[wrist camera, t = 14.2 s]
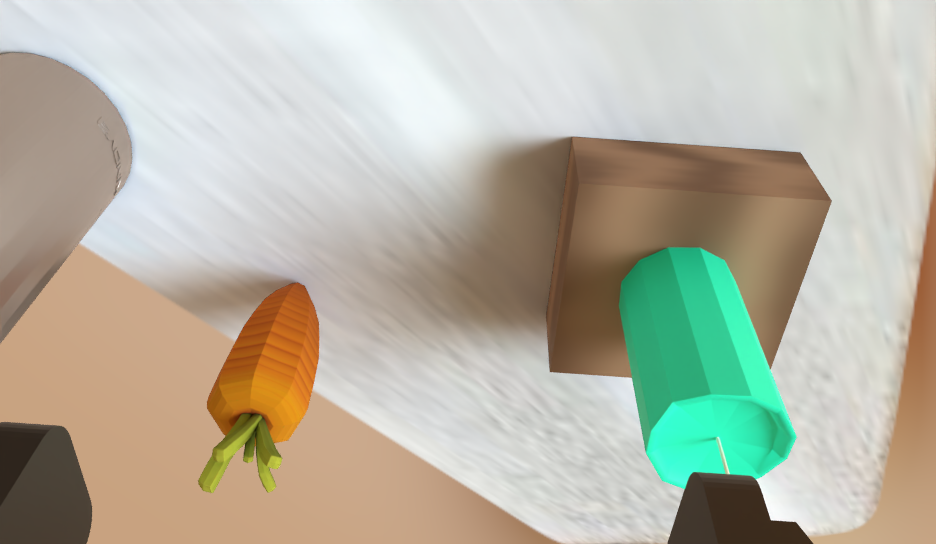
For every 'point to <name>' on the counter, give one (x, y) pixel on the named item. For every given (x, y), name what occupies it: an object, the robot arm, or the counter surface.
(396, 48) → the counter surface
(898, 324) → the counter surface
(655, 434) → the candle
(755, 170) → the walnut stand
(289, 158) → the counter surface
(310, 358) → the carrot
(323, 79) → the counter surface
